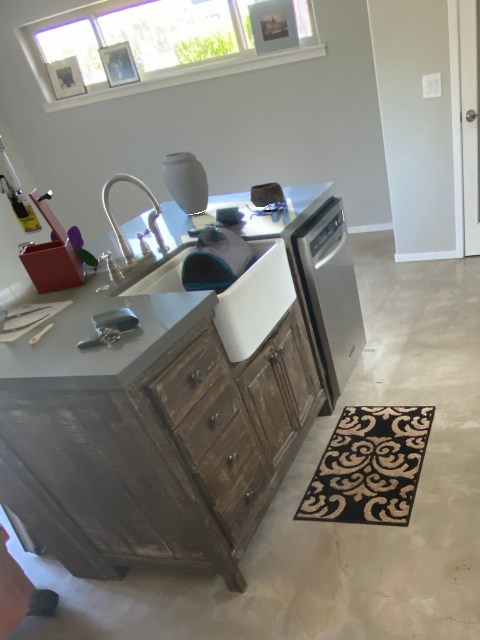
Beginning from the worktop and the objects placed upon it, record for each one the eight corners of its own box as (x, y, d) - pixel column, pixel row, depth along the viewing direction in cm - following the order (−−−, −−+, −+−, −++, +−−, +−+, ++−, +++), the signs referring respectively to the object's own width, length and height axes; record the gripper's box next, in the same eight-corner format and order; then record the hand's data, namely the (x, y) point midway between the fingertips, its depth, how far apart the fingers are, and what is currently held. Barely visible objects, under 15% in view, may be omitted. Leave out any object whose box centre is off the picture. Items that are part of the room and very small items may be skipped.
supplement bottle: (25, 235, 162) (5, 198, 156) (24, 232, 166) (5, 196, 159) (43, 231, 164) (25, 194, 157) (42, 228, 168) (25, 192, 161)
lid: (28, 194, 161) (43, 188, 162) (34, 188, 171) (48, 182, 171) (62, 245, 172) (77, 239, 172) (66, 237, 182) (80, 231, 182)
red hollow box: (39, 294, 177) (18, 256, 169) (43, 283, 187) (24, 246, 179) (83, 284, 180) (64, 246, 172) (85, 274, 190) (68, 237, 182)
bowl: (286, 210, 232) (280, 185, 225) (252, 216, 231) (245, 190, 225) (286, 204, 242) (281, 179, 236) (254, 209, 242) (247, 185, 235)
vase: (223, 207, 255) (206, 148, 238) (207, 217, 240) (188, 155, 224) (187, 211, 258) (168, 152, 242) (169, 221, 244) (148, 160, 228)
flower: (112, 275, 204) (81, 258, 204) (110, 238, 193) (78, 220, 192) (85, 288, 194) (53, 271, 194) (81, 250, 183) (47, 232, 183)
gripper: (-17, 145, 156) (17, 213, 168) (-31, 151, 143) (7, 223, 155) (9, 141, 157) (42, 208, 169) (-2, 146, 145) (34, 218, 157)
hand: (25, 215), depth 162 cm, fingers closed on supplement bottle, 5 cm apart
